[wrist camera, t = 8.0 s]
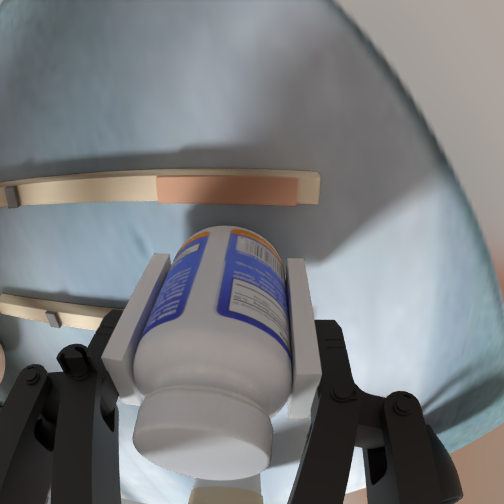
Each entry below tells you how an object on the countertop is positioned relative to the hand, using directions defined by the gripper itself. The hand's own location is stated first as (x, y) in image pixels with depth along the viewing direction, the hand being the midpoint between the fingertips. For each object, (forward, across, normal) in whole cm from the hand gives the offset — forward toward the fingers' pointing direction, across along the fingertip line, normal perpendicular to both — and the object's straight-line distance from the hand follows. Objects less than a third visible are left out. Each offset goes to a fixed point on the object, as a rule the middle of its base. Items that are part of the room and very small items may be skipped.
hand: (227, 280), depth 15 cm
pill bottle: (+1, 0, 0) cm, 1 cm away
